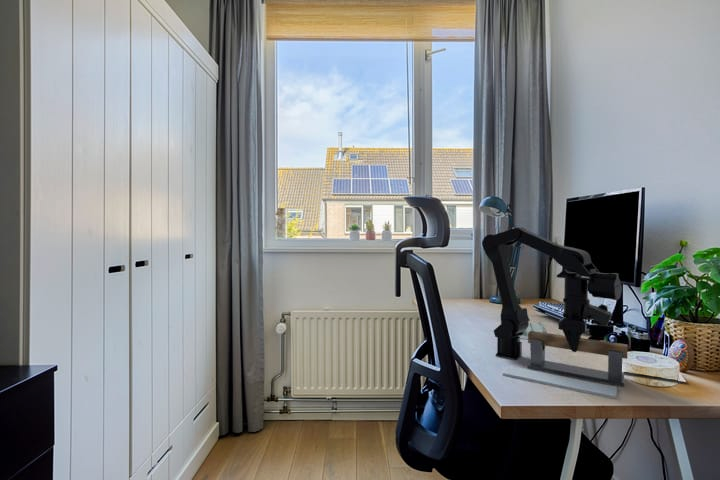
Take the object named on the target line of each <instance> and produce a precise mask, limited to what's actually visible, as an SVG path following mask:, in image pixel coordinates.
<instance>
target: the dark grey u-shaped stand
mask: <svg viewBox="0 0 720 480" xmlns="http://www.w3.org/2000/svg"><path fill="white" fill-rule="evenodd" d="M529 344H530V345H529V346H530V350H529V351H530V361H529V362H528V364H527V369H529V370H534V371H539V372H544V373H549V374H554V375H560V376H562V375H563V376H565V377H570V378H575V379H580V380H585V381H590V382H595V383H601V384H606V385H611V386H616V387H617V386H618V387H625V374H624V373H623V372H622V364H623V358H622V352H619V351H612V350H608V356H607V358H608V360H607V371H605V370H600V369H595V368H589V367H583V366H579V365H571V364H566V363H563V362H561V363H560V362H555V361H549V360H546V346H544V345H542V340H540V339H533V338H531V339H530V343H529Z"/></svg>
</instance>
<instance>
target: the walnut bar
mask: <svg viewBox="0 0 720 480" xmlns="http://www.w3.org/2000/svg"><path fill="white" fill-rule="evenodd" d="M531 338H533V339H540V340H542V345H544V346H545V347H551V348H557V349H564V350H571V348H570V346H569V343H568V341H567V339H566V337H565V335H564V334H563V335H562V334H557V333H556V334H555V333H548V332H547V333H542V332H535V331H530V332H529V333H528V340H527V344H530V339H531ZM628 348H629V347H628V344H625V343H620V342H619V343H618V342H612V341H605V340H600V339H599V340H598V339H589V338H584V337H581V338H580V339H579V344H578V348H577V352H582V353H588V354H589V353H590V354H595V355H601V356H607V357H608V350H612V351H619V352H622V359H628ZM571 351H572V350H571Z"/></svg>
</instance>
